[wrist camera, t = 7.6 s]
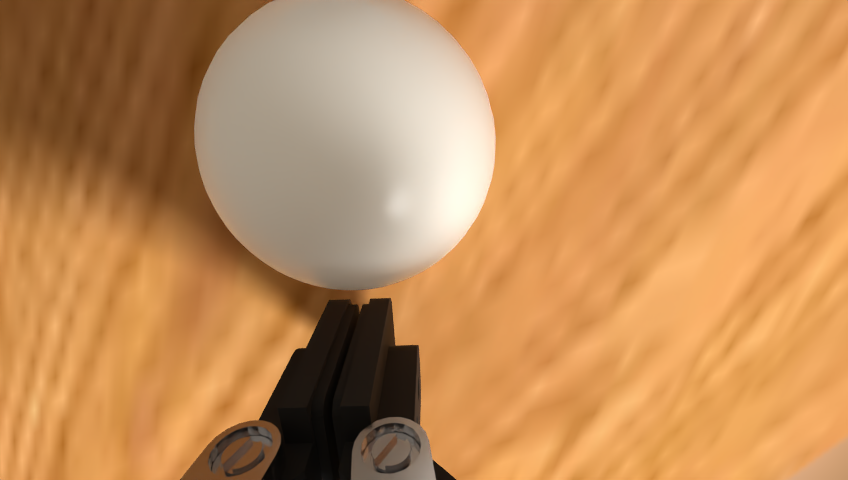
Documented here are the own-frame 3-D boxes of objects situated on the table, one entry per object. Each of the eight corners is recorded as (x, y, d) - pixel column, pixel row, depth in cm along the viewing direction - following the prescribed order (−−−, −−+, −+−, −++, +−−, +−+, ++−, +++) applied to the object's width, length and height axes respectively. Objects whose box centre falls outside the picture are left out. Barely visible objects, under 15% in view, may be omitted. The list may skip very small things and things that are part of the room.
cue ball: (328, -132, 3) (370, -99, 8) (40, 214, 5) (203, 85, 10) (593, 252, 6) (514, 117, 10) (338, 385, 8) (361, 225, 12)
